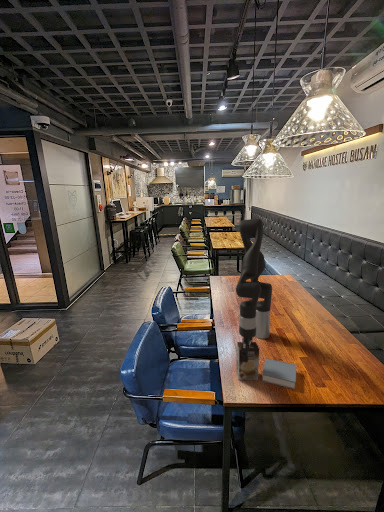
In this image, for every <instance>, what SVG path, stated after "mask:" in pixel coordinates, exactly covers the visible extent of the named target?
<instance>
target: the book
mask: <svg viewBox="0 0 384 512" xmlns="http://www.w3.org/2000/svg"><path fill="white" fill-rule="evenodd" d="M261 375H262V378H261V381H262V382H265V383H267V384H268V383H270V384H273V385H277V386H280V387H284V388H287V389H292V390H296V383H297V364H295V363H290V362H286V361H281V360H276V359H271V358H267V357H266V358H265V360H264V365H263V369H262V373H261Z"/></svg>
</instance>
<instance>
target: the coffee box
mask: <svg viewBox="0 0 384 512" xmlns="http://www.w3.org/2000/svg"><path fill="white" fill-rule="evenodd" d="M241 344H242V341H237V342H236V368H235V369H236V370H235V371H236V376H237V380H238V381H258V380H259V367H260V365H259V364H260V347H259V345H258V344H257V342H256V341H252V343H251V345H250V350H249V351H248V362H247V363H246V362H243V356H241Z"/></svg>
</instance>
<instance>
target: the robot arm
mask: <svg viewBox="0 0 384 512" xmlns="http://www.w3.org/2000/svg"><path fill="white" fill-rule="evenodd" d="M238 226H239V227H238V229H239V234H240V238H241V241H242V245H243V248H244V253H245V254H244V256H243V258H242V263H241V272H240V275H239V278H238V281H237V284H236V287H235V293H236V295H237V297H239V298H242V299H243V298H246V299H249V300H244V301H241V302H240V304H239V318H238V319H239V321H238V323H239V324H238V330H239V331H238V333H239V335H240V336H241V337H242V339H241V342H242V344H241V356H243V362H246V363H247V362H248V351H249V350H250V345H251V343H252V342H254V338H258V339H263V340H264V339H268V338H270V333H271V308H272V307H271V305H272V296H273V295H272V294H273V286H272V284H271V283H269V282H268V283H267V282H263V281H259V278H260V277H261V275H262V273H264V270H265V268H266V261H265V260H266V259H265V256H264V253H263V252H262V251H261V247H262V243H263V237H264V224H263V220H262V219H261V218H251V219H248V218H247V219H243V220H241V221H240V222H239V225H238ZM251 239H253V240H254V241H253V242H252V240H251ZM248 280H250V281H248ZM259 299H263V300H259Z"/></svg>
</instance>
